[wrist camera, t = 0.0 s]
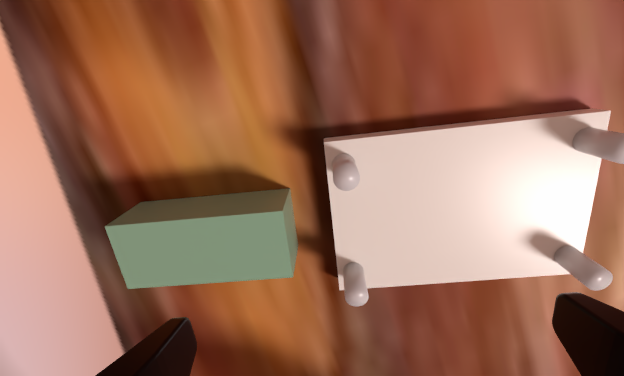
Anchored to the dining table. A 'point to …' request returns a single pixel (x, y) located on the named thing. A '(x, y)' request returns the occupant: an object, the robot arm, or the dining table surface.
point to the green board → (206, 239)
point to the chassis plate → (468, 200)
